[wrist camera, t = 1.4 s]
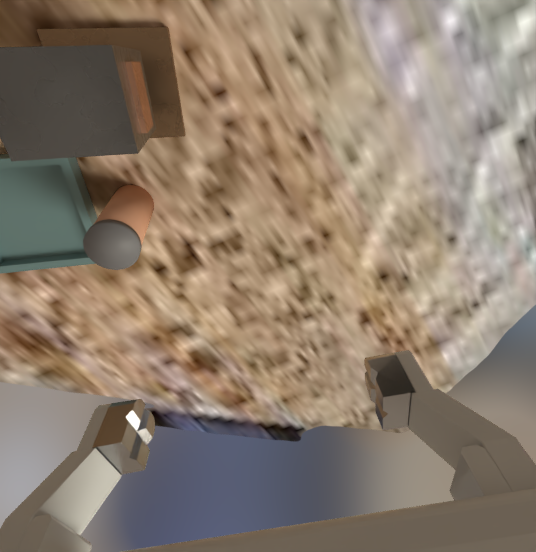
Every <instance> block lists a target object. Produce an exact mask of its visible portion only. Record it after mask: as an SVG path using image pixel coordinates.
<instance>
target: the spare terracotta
mask: <svg viewBox="0 0 536 552" xmlns="http://www.w3.org/2000/svg"><path fill="white" fill-rule="evenodd" d="M153 210H154V202H153V199H152V197H151V195H150V194H149V193H148V192H147V191H146V190H145V189H143V188H141V187H139V186H136V185H125V186H122V187H120V188H119V189H118V190H117V191H116V192H115V193H114V195H113V196H112V198H111V199H110V201H109V202H108V204H107V205H106V207H105V208H104V210H103V211H102V213H101V214H100V215H99V217H98V218H97V220H96V221H95V223H94V224H93V225H92V226H91V227H90V228H89V230H88V231H87V232H86V234H85V236H84V239H83V247H84V250H85V252H86V254H87V256H88V257H89V258H90V259H91V260H92V261H93V262H94V263H96V264H97V265H99V266H101V267H104V268H107V269H113V270H120V269H125V268H127V267H130V266H131V265H133V264H134V263H135V262H136V261H137V259H138V257H139V254H140V251H141V245H142V242H143V239H144V237H145V234H146V231H147V228H148V225H149V222H150V219H151V216H152V213H153Z"/></svg>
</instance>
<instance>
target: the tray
mask: <svg viewBox="0 0 536 552" xmlns="http://www.w3.org/2000/svg"><path fill="white" fill-rule="evenodd" d="M96 220H97V215H96V212H95V209H94V207H93V204H92V201H91V198H90V195H89V193H88V190H87V187H86V184H85V181H84V179H83V176H82V173H81V170H80V167H79V165H78V162H77V159H76V157H73V158H57V159H41V160H26V161H11V159H10V157H9V155H8V154H0V273H8V272H18V271H28V270H37V269H47V268H57V267H66V266H76V265H86V264H95V263H94V262H93V261H92V260H91V259H90V258H89V257H88V256H87V254H86V252H85V250H84V247H83V239H84V236H85V234H86V232H87V231H88V230H89V228H90V227H91V226H92V225H93V224H94V223H95V221H96Z"/></svg>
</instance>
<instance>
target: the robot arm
mask: <svg viewBox="0 0 536 552" xmlns="http://www.w3.org/2000/svg"><path fill="white" fill-rule="evenodd" d="M364 362H365V368H366V370H367V372H366V373H365V381H366V386H367V390H368V393H369V396H370V398H371V401H373V402H374V403H375V404H376V414H377V417H378V419H379V422H380V424H381V427H382V429H383V430H388V429H395V428H402V427H408V428H409V429H410V430H411V431H412V432H414V433H415V434H416V435H417V436H418V437H419V438H420V439H421V440H423V441H424V442H425V443H426V444H427V445H428V446H429V447H430V448H432V449H433V450H434V451H435V452H436V453H437V454H438V455H439V456H440V457H442V458H443V459H444V460H445V461H446V462H447V463H449V465H451V466H452V467H453V468H454V469H455V470H456V471H455V475H454V478H453V481H452V485H451V488H450V493H451V495H452V497H453V499H454V501H448V502H442V503H435V504H429V505H422V506H416V507H409V508H403V509H396V510H389V511H383V512H376V513H370V514H363V515H357V516H350V517H344V518H337V519H332V520H324V521H318V522H311V523H305V524H298V525H292V526H285V527H278V528H272V529H265V530H259V531H253V532H246V533H239V534H233V535H226V536H220V537H213V538H207V539H201V540H194V541H187V542H181V543H175V544H168V545H162V546H155V547H148V548H141V549H135V550H128V551H122V552H536V465H535V463H534V462H533V460H532V459H531V458H530V456H529V455H528V454H527V452H526V451H525V450H524V449H523V447H522V446H521V444H520V443H519V442H518V440H517V439H516V437H514V436H512V435H511V434H509V433H507V432H506V431H504V430H503V429H501V428H499V427H498V426H496V425H495V424H493V423H492V422H490V421H488V420H487V419H485V418H484V417H482V416H480V415H479V414H477V413H476V412H474V411H473V410H471V409H469V408H468V407H466V406H464V405H463V404H461V403H460V402H458V401H457V400H455V399H453V398H452V397H450V396H449V395H447V394H445V393H444V392H442V391H441V390H439V389H433V388H432V386H431V385H430V383H429V381H428V380H427V378H426V376H425V375H424V373H423V371H422V370H421V368H420V366H419V365H418V363H417V361H416V360H415V358H414V356H413V355H412V353H411V352H410V351H409V350H406V351H401V352H396V353H388V354H383V355H378V356H373V357H368V358H365V360H364ZM144 407H145V403H144V402H143V401H142V399H138V400H131V401H125V402H118V403H111V404H106V405H100V406H98V407H97V408H96V409H95V411H94V413H93V415H92V418H91V420H90V422H89V424H88V426H87V429H86V431H85V433H84V435H83V438H82V440H81V442H80V444H79V447H78V449H77V451H75V452H72V453H71V454H70V455H69V456H68V457H67V458H66V459H65V460H64V461H63V462H62V463H61V464H60V465H59V466H58V467H57V468H56V469H55V470H54V471H53V472H52V473H51V474H50V475H49V476H48V477H47V478H46V479H45V480H44V481H43V482H42V483H41V484H40V485H39V486H38V487H37V488H36V489H35V490H34V491H33V492H32V493H31V494H30V495H29V496H28V497H27V498H26V499H25V500H24V501H23V502H22V503H21V504H20V505H19V506H18V508H16V509H15V510H14V511H13V512H12V513H11V514H10V516H8V518H6V519H5V521H4V523H3V525H2V527H1V529H0V552H90V551H91V548H92V546H91V543H90V542H89V541H87V540H86V539H85V538H83V537H82V536H80V535H81V534H82V532H83V530H84V529H85V528H86V526H87V525H88V523H89V522H90V520H91V519H92V518H93V516H94V515H95V513H96V512H97V511H98V509H99V508H100V506H101V505H102V503H103V502H104V500H105V499H106V498H107V496H108V495H109V493H110V492H111V490H112V489H113V488H114V486H115V485H116V483H117V482H118V481H119V479H120V478H121V475H122V474H127V473H132V472H137V471H142V470H145V467H146V463H147V459H148V455H149V451H150V450H149V448H148V446H147V444H148V443H149V442H150V441H151V439H152V438H153V435H154V431H155V421H154V418H153V415H152V413H151V412H150V411H148V410H146V409H144Z"/></svg>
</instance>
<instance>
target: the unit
mask: <svg viewBox="0 0 536 552" xmlns="http://www.w3.org/2000/svg"><path fill="white" fill-rule="evenodd" d="M37 32H38V35H39V38H40V41H41V44H42V47H0V138H1V140H2V142H3V144H4V146H5V148H6V151H7V153H8V155H9V157H10V159H11V161H26V160H41V159H57V158H73V157H88V156H104V155H120V154H136V153H139V152H140V150H141V149H142V147H143V146H144V145H145V143H146V142H147V140H148V139H149V138H162V137H179V136H185V128H184V122H183V116H182V109H181V103H180V97H179V91H178V84H177V78H176V72H175V66H174V59H173V53H172V47H171V41H170V34H169V28H168V27H139V28H77V29H37Z"/></svg>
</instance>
